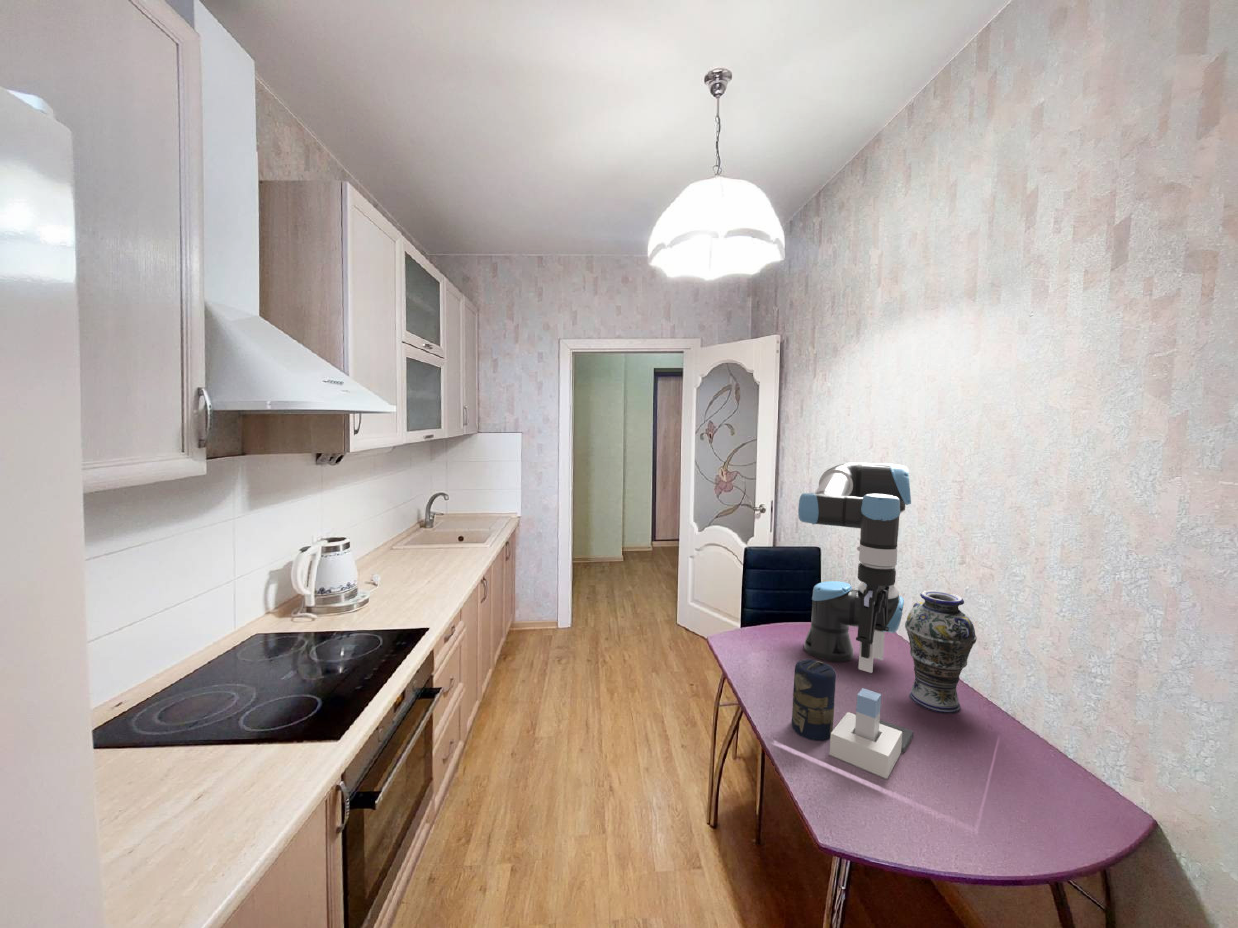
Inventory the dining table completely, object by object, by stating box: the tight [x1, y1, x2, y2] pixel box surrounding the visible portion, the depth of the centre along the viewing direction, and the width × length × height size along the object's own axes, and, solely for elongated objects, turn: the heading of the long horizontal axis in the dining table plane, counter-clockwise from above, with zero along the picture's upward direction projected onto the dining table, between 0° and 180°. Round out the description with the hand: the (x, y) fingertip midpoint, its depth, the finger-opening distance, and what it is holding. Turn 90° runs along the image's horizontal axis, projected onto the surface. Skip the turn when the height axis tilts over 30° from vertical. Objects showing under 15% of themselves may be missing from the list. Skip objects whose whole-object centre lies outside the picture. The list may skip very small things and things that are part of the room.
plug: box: [855, 687, 882, 742], centre depth 119 cm, size 4×4×14 cm
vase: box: [904, 590, 978, 714], centre depth 143 cm, size 17×17×30 cm
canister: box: [791, 658, 837, 742], centre depth 128 cm, size 10×10×18 cm
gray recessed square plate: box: [879, 718, 914, 754], centre depth 127 cm, size 9×9×2 cm
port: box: [828, 711, 902, 780], centre depth 119 cm, size 12×12×6 cm
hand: (870, 663), depth 118 cm, fingers open, 8 cm apart
